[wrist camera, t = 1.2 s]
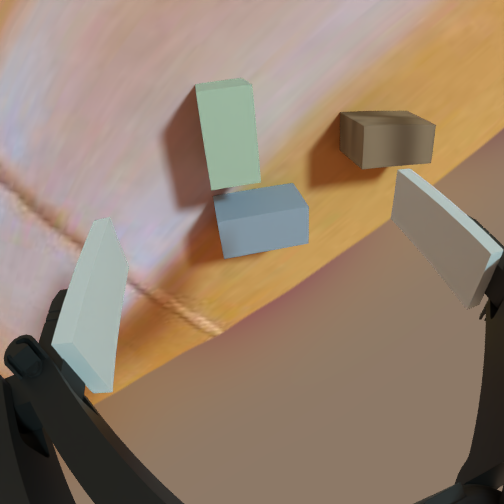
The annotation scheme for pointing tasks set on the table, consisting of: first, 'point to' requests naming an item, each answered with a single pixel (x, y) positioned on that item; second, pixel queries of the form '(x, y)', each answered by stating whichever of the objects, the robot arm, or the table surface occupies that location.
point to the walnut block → (386, 138)
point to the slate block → (261, 220)
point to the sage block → (229, 132)
